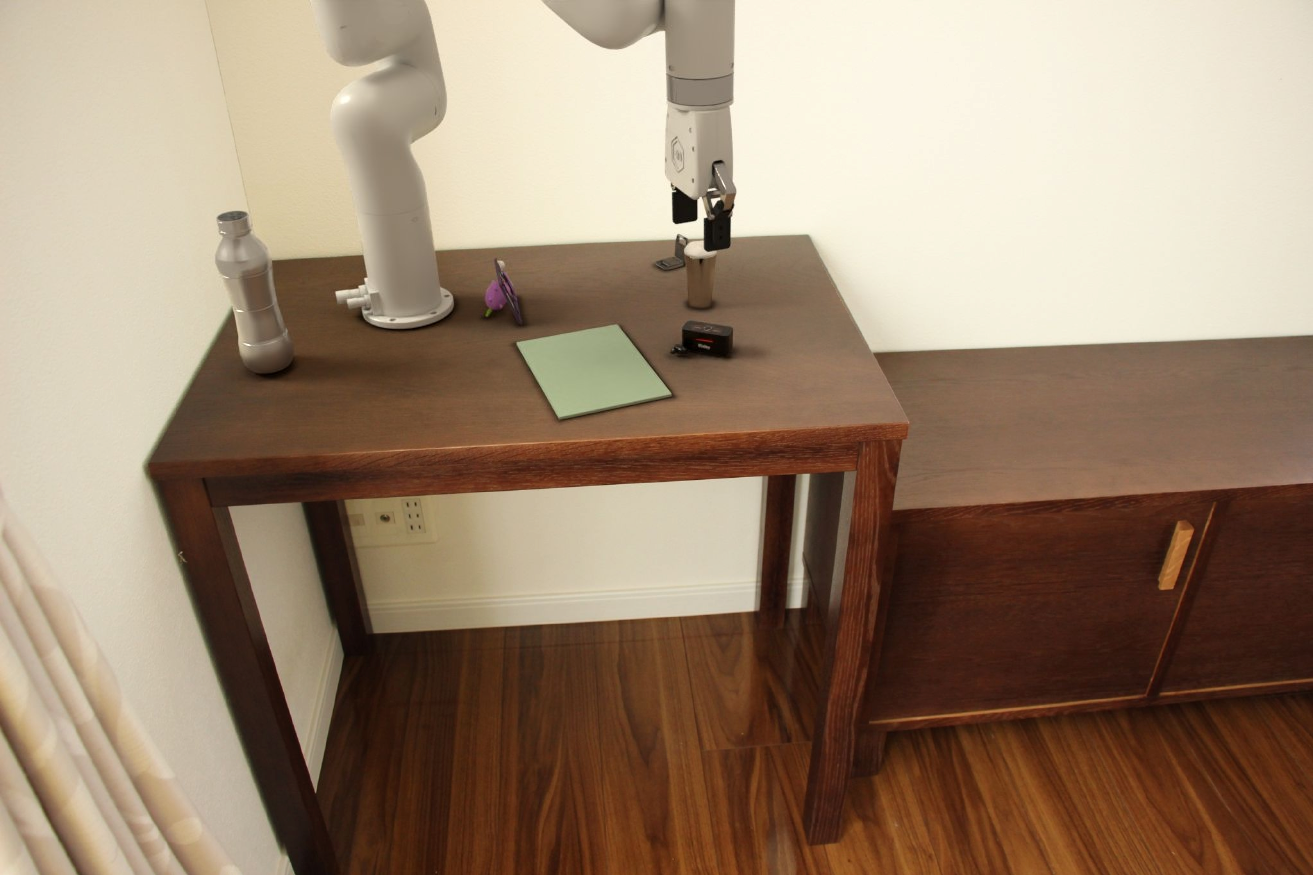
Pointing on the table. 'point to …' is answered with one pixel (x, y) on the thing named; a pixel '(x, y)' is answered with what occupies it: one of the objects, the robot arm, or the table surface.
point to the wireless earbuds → (705, 339)
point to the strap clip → (679, 254)
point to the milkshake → (699, 274)
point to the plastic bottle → (252, 295)
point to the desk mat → (591, 371)
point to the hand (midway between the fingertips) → (700, 235)
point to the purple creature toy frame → (501, 293)
